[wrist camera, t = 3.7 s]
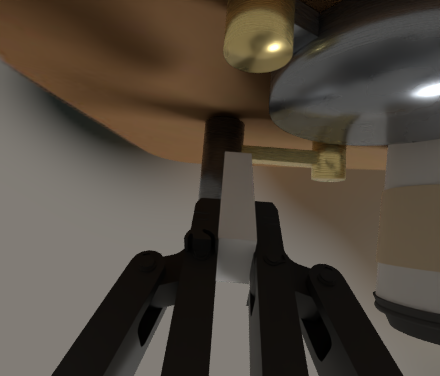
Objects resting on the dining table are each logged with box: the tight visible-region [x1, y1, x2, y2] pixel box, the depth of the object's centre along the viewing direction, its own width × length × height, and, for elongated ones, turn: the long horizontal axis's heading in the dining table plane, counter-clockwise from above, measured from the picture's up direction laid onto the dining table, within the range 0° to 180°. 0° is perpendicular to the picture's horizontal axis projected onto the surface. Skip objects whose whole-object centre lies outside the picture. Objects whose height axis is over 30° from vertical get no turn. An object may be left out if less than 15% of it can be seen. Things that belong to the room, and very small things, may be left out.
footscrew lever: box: [198, 117, 346, 201], centre depth 22 cm, size 11×3×10 cm, turn 90°
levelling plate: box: [223, 0, 440, 146], centre depth 14 cm, size 16×12×2 cm
